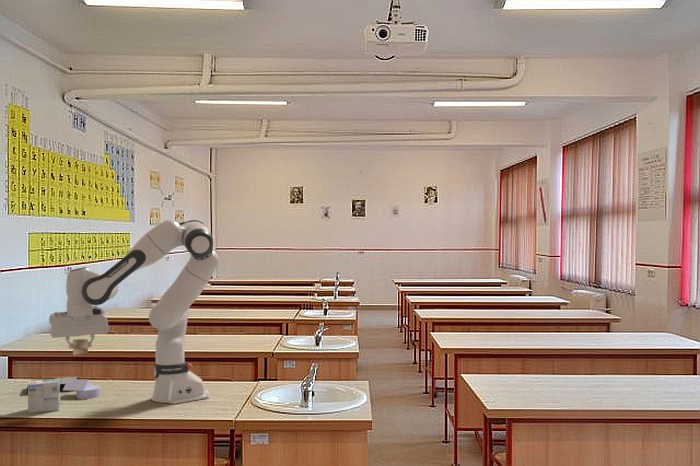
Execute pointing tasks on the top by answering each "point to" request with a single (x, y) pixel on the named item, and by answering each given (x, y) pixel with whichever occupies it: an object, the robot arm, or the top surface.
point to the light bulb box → (43, 395)
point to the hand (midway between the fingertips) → (80, 347)
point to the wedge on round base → (83, 388)
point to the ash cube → (80, 346)
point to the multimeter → (62, 383)
